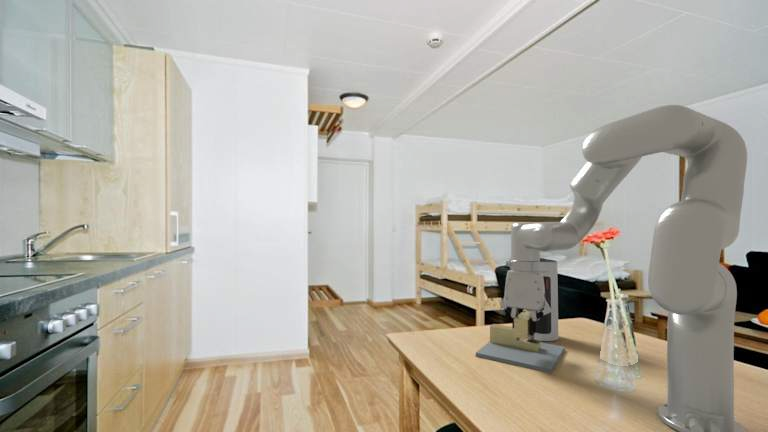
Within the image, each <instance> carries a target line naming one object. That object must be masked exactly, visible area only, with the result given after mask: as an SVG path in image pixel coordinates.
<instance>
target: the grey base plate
mask: <svg viewBox="0 0 768 432" xmlns="http://www.w3.org/2000/svg"><path fill="white" fill-rule="evenodd" d="M564 352H565V346H561V345H556V344H551V343H547V342H546V343H545V342H541V349H540V350H539V352H533V351H528V350H523V349H519V348H514V347H509V346H504V345H499V344H494V343H490V340H489V341H488V342H486V343H485V344H484V345H483V346H482V347H480V348H479V349H478V350H477V351H476V352H475V357H478V358H483V359H486V360H492V361H497V362H501V363H504V364H505V363H506V364H509V365H513V366H518V367H523V368H527V369H532V370H537V371H539V372H540V371H541V372H545V373H549V374H552V373H553V371H554V370H555V368H556V366H557V364H558V363H559V361H560V359H561V357H562V355H563V353H564Z"/></svg>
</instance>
